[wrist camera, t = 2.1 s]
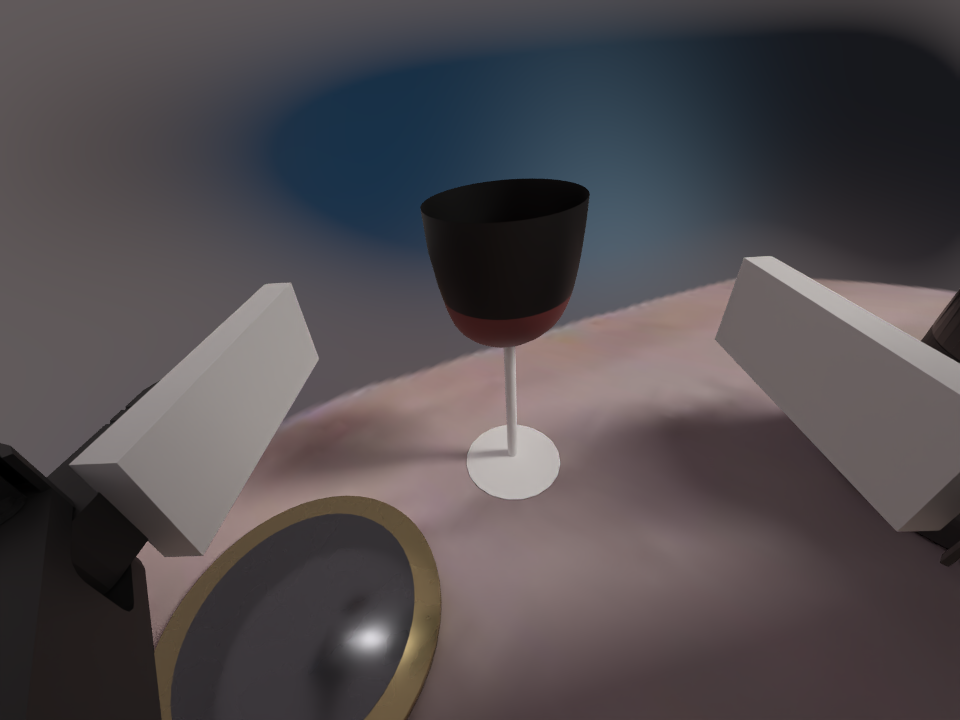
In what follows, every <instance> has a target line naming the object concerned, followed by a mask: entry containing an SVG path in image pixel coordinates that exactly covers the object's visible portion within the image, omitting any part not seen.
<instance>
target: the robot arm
mask: <svg viewBox="0 0 960 720" xmlns="http://www.w3.org/2000/svg"><path fill="white" fill-rule="evenodd" d="M715 340H716V341H717V342H718V343H719V344H720V345H721V346H722V347H723V348H724V350H725V351H726V352H727V353H728V354H729V355H730V356H731V357H732V358H733V359H734V360H735V361H736V362H737V363H738V364H739V365H740V366H741V367H742V369H743V370H744V371H745V372H746V373H747V374H748V375H749V376H750V377H751V378H752V379H753V380H754V381H755V382H756V383H757V384H758V385H759V387H760V388H761V389H762V390H763V391H764V392H765V393H766V394H767V395H768V396H769V397H770V398H771V399H772V400H773V401H774V402H775V403H776V405H777V406H778V407H779V408H780V409H781V410H782V411H783V412H784V413H785V414H786V415H787V416H788V417H789V418H790V419H791V420H792V421H793V423H794V424H795V425H796V426H797V427H798V428H799V429H800V430H801V431H802V432H803V433H804V434H805V435H806V436H807V437H808V438H809V439H810V440H811V442H812V443H813V444H814V445H815V446H816V447H817V448H818V449H819V450H820V451H821V452H822V453H823V454H824V455H825V456H826V457H827V458H828V460H829V461H830V462H831V463H832V464H833V465H834V466H835V467H836V468H837V469H838V470H839V471H840V472H841V473H842V474H843V475H844V476H845V478H846V479H847V480H848V481H849V482H850V483H851V484H852V485H853V486H854V487H855V488H856V489H857V490H858V491H859V492H860V493H861V494H862V496H863V497H864V498H865V499H866V500H867V501H868V502H869V503H870V504H871V505H872V506H873V507H874V508H875V509H876V510H877V511H878V512H879V513H880V515H881V516H882V517H883V518H884V519H885V520H886V521H887V522H888V523H889V524H890V525H891V526H892V527H893V528H894V529H895V530H896V531H897V532H909V531H916V532H918V533H920V534H921V535H923V536H925V537H927V538H929V539H930V540H932V541H934V542H936V543H938V544H940V545H942V546H944V547H945V548H947V549H949V550H948V551H946V552H945V553H944V554H942V557H941V561H940V563H941V564H943V565H946V566H948V567H949V566H950V565H951V564H953V563H954V562H955V561H957V560H958V559H959V558H960V289H959V290H958V292H957V293H956V294H955V296H954V297H953V298H952V300H951V301H950V302H949V304H948V305H947V306H946V308H945V309H944V310H943V312H942V313H941V314H940V316H939V317H938V318H937V320H936V321H935V322H934V324H933V325H932V327H931V328H930V329H929V331H928V332H927V334H926V335H925V336H924V338H923V339H922V340H921V341H919V340H918V339H916V338H914V337H912V336H911V335H909V334H907V333H905V332H904V331H902V330H900V329H898V328H897V327H895V326H893V325H891V324H890V323H888V322H886V321H884V320H883V319H881V318H879V317H877V316H876V315H874V314H872V313H870V312H869V311H867V310H865V309H863V308H862V307H860V306H858V305H856V304H855V303H853V302H851V301H849V300H848V299H846V298H844V297H842V296H841V295H839V294H837V293H835V292H834V291H832V290H830V289H828V288H827V287H825V286H823V285H821V284H820V283H818V282H816V281H814V280H813V279H811V278H809V277H807V276H805V275H804V274H802V273H800V272H798V271H797V270H795V269H793V268H791V267H790V266H788V265H786V264H784V263H783V262H781V261H779V260H777V259H776V258H774V257H772V256H765V257H748V258H744V259H743V262H742V265H741V268H740V271H739V273H738V276H737V279H736V282H735V284H734V287H733V290H732V293H731V296H730V298H729V301H728V304H727V307H726V310H725V312H724V315H723V318H722V321H721V324H720V326H719V329H718V332H717V335H716V338H715ZM318 360H319V358H318V355H317V352H316V349H315V347H314V344H313V341H312V339H311V336H310V333H309V331H308V328H307V325H306V323H305V320H304V317H303V314H302V312H301V309H300V306H299V304H298V301H297V298H296V296H295V293H294V290H293V287H292V285H291V283H277V284H265V285H264V286H263V287H262V288H261V289H259V290H258V291H257V292H256V293H255V294H254V295H253V296H252V297H251V298H250V299H249V300H247V301H246V302H245V303H244V304H243V305H242V306H241V307H240V308H239V309H238V310H237V311H236V312H234V313H233V314H232V315H231V316H230V317H229V318H228V319H227V320H226V321H225V322H223V323H222V324H221V325H220V326H219V327H218V328H217V329H216V330H215V331H214V332H213V333H211V334H210V335H209V336H208V337H207V338H206V339H205V340H204V341H203V342H202V343H201V344H200V345H198V346H197V347H196V348H195V349H194V350H193V351H192V352H191V353H190V354H189V355H188V356H186V357H185V358H184V359H183V360H182V361H181V362H180V363H179V364H178V365H177V366H176V367H174V368H173V369H172V370H171V371H170V372H169V373H168V374H167V375H166V376H165V377H164V378H163V379H161V380H160V381H158V382H157V383H155V384H153V385H151V386H150V387H148V388H146V389H145V390H143V391H142V392H141V393H140V394H139V395H138V396H137V397H136V398H135V399H134V400H132V401H131V402H130V403H129V404H128V405H127V406H126V409H125V410H121V411H120V412H119V413H118V414H117V415H116V416H114V417H113V418H112V419H111V420H110V424H106V425H105V426H103V427H102V428H101V429H100V430H99V431H98V432H97V433H96V434H95V435H93V436H92V437H91V438H90V439H89V440H88V441H87V442H86V443H85V444H83V445H82V447H80V448H79V449H78V450H77V451H76V452H75V453H74V454H72V455H71V456H70V457H69V458H68V459H67V460H66V461H65V462H63V463H62V464H61V465H60V466H59V467H58V468H57V469H56V470H55V471H54V472H52V473H51V474H50V475H49V476H48V477H47V478H46V477H45V476H44V475H43V474H42V473H41V472H39V471H38V470H37V469H36V468H35V467H34V466H33V465H31V464H30V463H29V462H28V461H27V460H26V459H25V458H24V457H22V456H21V455H20V454H19V453H18V452H17V451H16V450H15V449H13V448H12V447H11V446H9V445H5V444H1V443H0V720H162V718H161V709H160V700H159V691H158V682H157V673H156V664H155V655H154V646H153V637H152V628H151V619H150V610H149V601H148V592H147V583H146V574H145V568H144V566H143V564H142V562H141V561H140V560H139V559H138V558H137V557H136V556H137V554H138V553H139V552H140V550H141V549H142V548H143V546H144V545H145V543H146V542H147V541H149V542H150V543H151V544H152V545H153V546H154V547H155V548H156V549H157V550H158V551H159V552H160V553H161V554H162V555H163V556H164V557H180V556H203V555H204V553H205V552H206V550H207V548H208V547H209V545H210V543H211V542H212V540H213V538H214V536H215V535H216V533H217V531H218V530H219V528H220V526H221V525H222V523H223V521H224V519H225V518H226V516H227V514H228V513H229V511H230V509H231V508H232V506H233V504H234V502H235V501H236V499H237V497H238V496H239V494H240V492H241V491H242V489H243V487H244V485H245V484H246V482H247V480H248V479H249V477H250V475H251V474H252V472H253V470H254V468H255V467H256V465H257V463H258V462H259V460H260V458H261V457H262V455H263V453H264V451H265V450H266V448H267V446H268V445H269V443H270V441H271V440H272V438H273V436H274V434H275V433H276V431H277V429H278V428H279V426H280V424H281V423H282V421H283V419H284V417H285V416H286V414H287V412H288V410H289V409H290V407H291V406H292V403H293V402H294V400H295V399H296V397H297V395H298V394H299V392H300V390H301V389H302V387H303V385H304V383H305V382H306V380H307V378H308V377H309V375H310V373H311V372H312V370H313V368H314V366H315V365H316V363H317V361H318Z"/></svg>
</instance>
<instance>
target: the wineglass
mask: <svg viewBox="0 0 960 720" xmlns="http://www.w3.org/2000/svg"><path fill="white" fill-rule="evenodd" d="M589 195H590V194H589V191H588V190H587V189H586V188H585V187H583V186H581V185H579V184H576V183H572V182H567V181H561V180H552V179H509V180H499V181H491V182H483V183H477V184H471V185H466V186H462V187H458V188H454V189H451V190H447V191H444V192H441V193H439V194H436V195H434V196H432V197H430V198H428V199H427V200H426V201H424V203H422V205H421V214H422V219H423V225H424V231H425V237H426V242H427V248H428V253H429V256H430V260H431V263H432V267H433V270H434V273H435V277H436V280H437V283H438V287H439V289H440V292H441V295H442V298H443V300H444V302H445V306H446V308H447V311H448V313H449V315H450V317H451V319H452V321H453V322H454V324H455V326H456V327H457V328H458V329H459V330H460V331H461V332H462V333H463V334H464V335H465V336H466V337H468V338H470V339H471V340H473V341H475V342H477V343H479V344H483V345H486V346H491V347H500V348H504V370H505V394H506V418H507V425H503V426H499V427H496V428H492V429H490V430H488V431H487V432H485V433H483V434H481V435H480V436H479V437H478V438H477V439H476V440H475V441H474V442H473V443H472V445H471V447H470V449H469V451H468V453H467V468H468V471H469V475H470V477H471V478H472V480H473V481H474V482H475V483H476V485H477V486H478V487H479V488H480V489H482V490H484V491H485V492H487V493H488V494H490V495H492V496H496V497H499V498H503V499H525V498H529V497H532V496H535V495H538V494H540V493H541V492H542V491H544V490H545V489H547V488H548V487H550V486H551V484H552V483H553V481H554V480H555V479H556V477H557V476H558V472H559V468H560V458H559V452H558V450H557V449H556V447H555V445H554V443H553V442H552V441H551V440H550V439H549V438H548V437H547V436H546V435H544V434H543V433H542V432H539V431H537V430H535V429H533V428H531V427H526V426H521V425H517V410H516V360H515V346H518V345H522V344H524V343H527V342H529V341H532V340H534V339H536V338H538V337H540V336H541V335H542V334H544V333H545V332H547V331H548V330H549V329H551V328H552V327H553V326H554V325H555V324H556V322H557V321H558V320H559V319H560V317H561V315H562V314H563V312H564V310H565V308H566V306H567V304H568V302H569V299H570V297H571V294H572V291H573V288H574V284H575V280H576V276H577V272H578V268H579V263H580V257H581V252H582V246H583V240H584V233H585V227H586V220H587V212H588V203H589Z"/></svg>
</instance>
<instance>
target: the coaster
mask: <svg viewBox="0 0 960 720" xmlns="http://www.w3.org/2000/svg"><path fill="white" fill-rule="evenodd" d="M440 620H441V590H440V581H439V576H438V571H437V567H436V563H435V560H434V558H433V555H432V552H431V549H430V547H429V545H428V543H427V541H426V539H425V537H424V536H423V534H422V533H421V532H420V530H419V529H418V527H417V526H416V525H415V524H414V523H413V522H412V521H411V520H410V519H409V518H408V517H407V516H406V515H404V514H403V513H402V512H400V511H399V510H397V509H396V508H394V507H392V506H390V505H388V504H386V503H384V502H381V501H378V500H375V499H371V498H365V497H359V496H337V497H329V498H323V499H318V500H314V501H311V502H307V503H304V504H301V505H299V506H296V507H293V508H291V509H288V510H286V511H284V512H282V513H280V514H278V515H276V516H274V517H272V518H271V519H269V520H267V521H265V522H264V523H262V524H260V525H259V526H257V527H256V528H254V529H253V530H252V531H250V532H249V533H247V534H246V535H244V536H243V537H242V538H241V539H239V540H238V541H237V542H236V543H235V544H233V545H232V546H231V547H230V548H228V549H227V550H226V551H225V552H224V553H223V554H222V555H221V556H220V557H219V558H218V559H217V560H216V561H215V562H214V563H213V564H212V565H211V566H210V567H209V568H208V569H207V570H206V572H205V573H204V574H203V575H202V576H201V577H200V578H199V579H198V581H197V582H196V583H195V584H194V586H193V587H192V588H191V590H190V591H189V592H188V593H187V595H186V596H185V597H184V599H183V600H182V602H181V603H180V605H179V607H178V608H177V610H176V611H175V613H174V614H173V616H172V617H171V619H170V621H169V623H168V625H167V626H166V628H165V630H164V632H163V634H162V635H161V637H160V640H159V642H158V644H157V646H156V649H155V651H154V655H155V664H156V673H157V682H158V691H159V700H160V709H161V718H162V720H407V718H408V717H409V715H410V713H411V711H412V709H413V707H414V705H415V703H416V701H417V699H418V697H419V695H420V693H421V691H422V688H423V686H424V683H425V681H426V678H427V676H428V673H429V670H430V668H431V664H432V660H433V657H434V653H435V649H436V646H437V640H438V634H439V628H440Z"/></svg>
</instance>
